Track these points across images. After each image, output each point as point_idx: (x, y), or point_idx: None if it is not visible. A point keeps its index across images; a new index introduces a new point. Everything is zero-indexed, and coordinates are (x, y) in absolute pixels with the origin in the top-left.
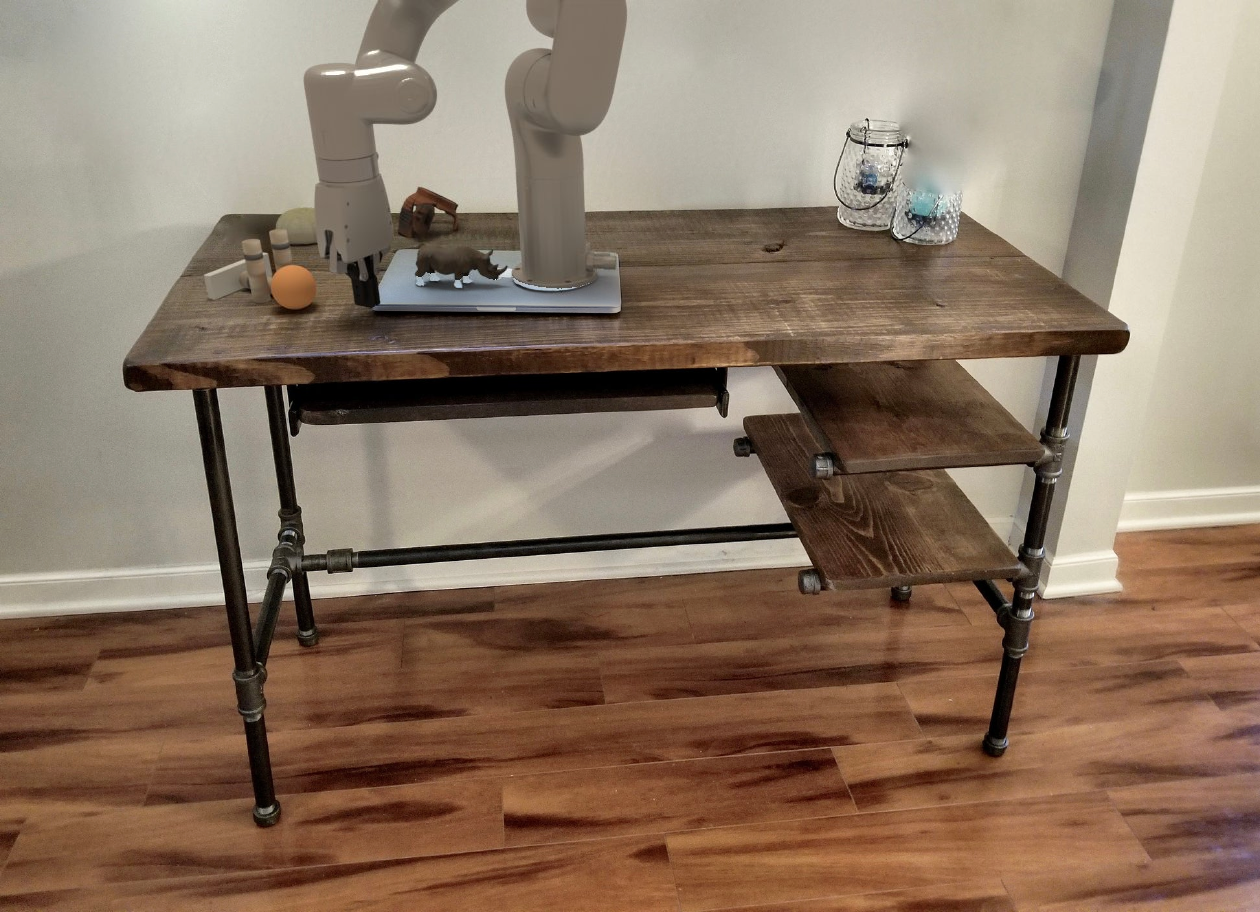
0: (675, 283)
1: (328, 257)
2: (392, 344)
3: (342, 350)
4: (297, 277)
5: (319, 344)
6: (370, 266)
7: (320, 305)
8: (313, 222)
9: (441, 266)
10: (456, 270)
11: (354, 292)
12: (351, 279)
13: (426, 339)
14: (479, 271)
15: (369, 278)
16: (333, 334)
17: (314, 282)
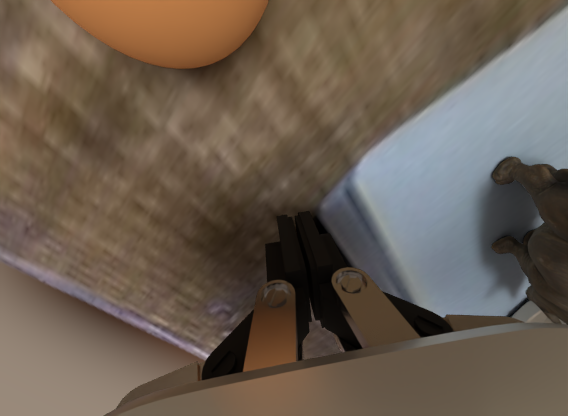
0: None
1: (158, 391)
2: (222, 339)
3: (139, 311)
4: (100, 1)
5: (111, 266)
6: (349, 339)
7: (261, 40)
8: None
9: (544, 263)
10: (533, 280)
11: (266, 260)
12: (285, 265)
13: None
14: (541, 297)
15: (315, 313)
16: (165, 247)
17: (235, 38)
